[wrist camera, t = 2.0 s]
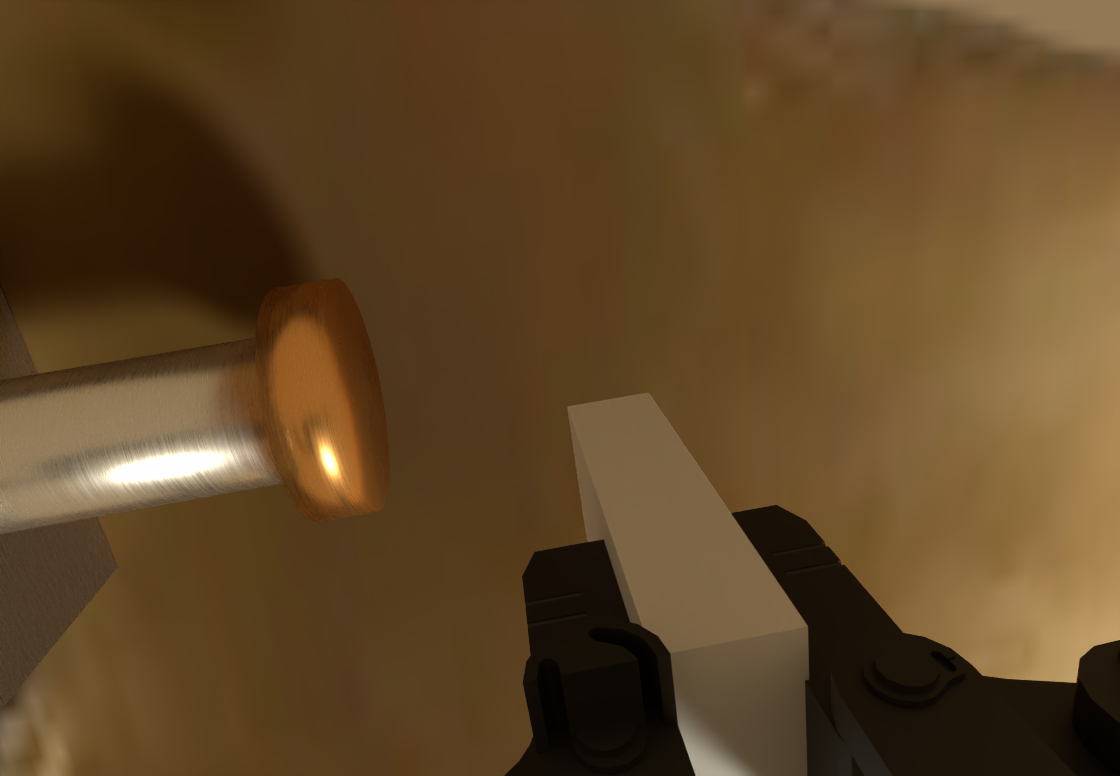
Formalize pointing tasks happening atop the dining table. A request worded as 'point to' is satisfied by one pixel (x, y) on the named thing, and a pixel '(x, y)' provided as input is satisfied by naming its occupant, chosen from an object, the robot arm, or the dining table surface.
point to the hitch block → (41, 562)
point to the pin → (206, 421)
